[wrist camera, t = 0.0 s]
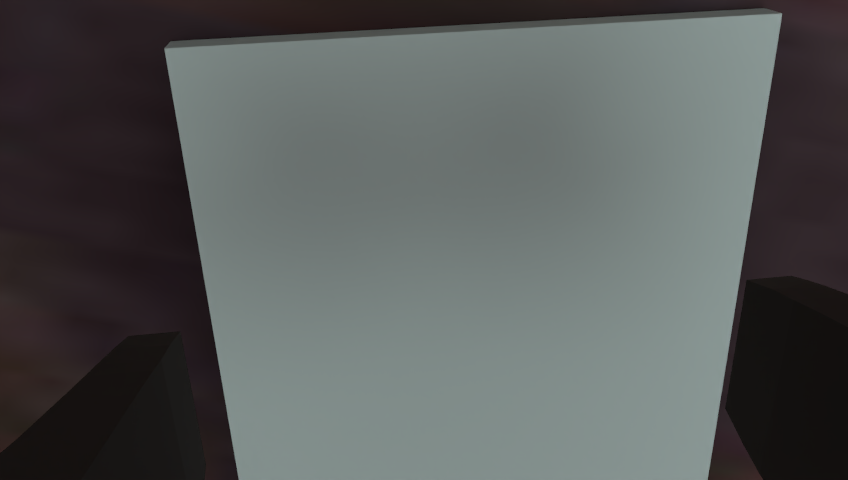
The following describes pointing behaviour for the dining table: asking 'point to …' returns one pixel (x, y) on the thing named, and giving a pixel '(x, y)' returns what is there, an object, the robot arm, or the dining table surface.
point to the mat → (476, 241)
